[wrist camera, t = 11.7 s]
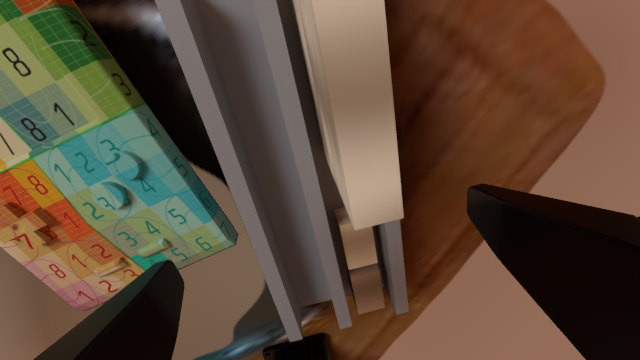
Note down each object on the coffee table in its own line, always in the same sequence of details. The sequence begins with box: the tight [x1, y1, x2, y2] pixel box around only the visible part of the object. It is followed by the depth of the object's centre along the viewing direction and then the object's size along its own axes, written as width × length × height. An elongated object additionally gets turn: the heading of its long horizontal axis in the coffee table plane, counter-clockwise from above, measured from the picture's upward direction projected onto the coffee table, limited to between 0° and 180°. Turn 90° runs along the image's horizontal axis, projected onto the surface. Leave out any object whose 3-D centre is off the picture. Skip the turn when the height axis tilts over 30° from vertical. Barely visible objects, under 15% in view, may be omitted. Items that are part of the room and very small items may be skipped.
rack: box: [155, 0, 409, 342], centre depth 19 cm, size 24×10×4 cm, turn 12°
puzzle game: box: [0, 0, 238, 311], centre depth 17 cm, size 12×5×20 cm
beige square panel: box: [291, 0, 404, 230], centre depth 13 cm, size 9×2×9 cm, turn 12°
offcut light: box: [334, 207, 378, 270], centre depth 21 cm, size 4×2×2 cm, turn 12°
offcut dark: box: [344, 256, 385, 314], centre depth 23 cm, size 4×2×2 cm, turn 12°
